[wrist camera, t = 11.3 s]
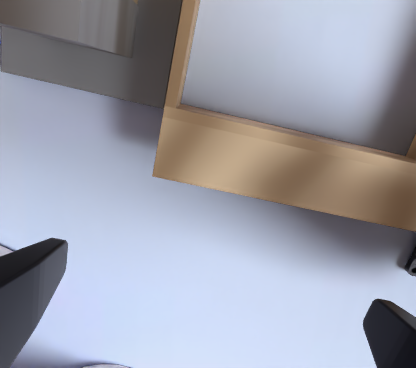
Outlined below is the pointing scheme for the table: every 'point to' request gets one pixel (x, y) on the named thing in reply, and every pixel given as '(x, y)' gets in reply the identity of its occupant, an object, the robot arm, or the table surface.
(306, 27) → the table surface
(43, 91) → the table surface
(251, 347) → the table surface
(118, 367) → the decorative container
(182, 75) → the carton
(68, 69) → the mat
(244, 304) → the table surface
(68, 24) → the box
